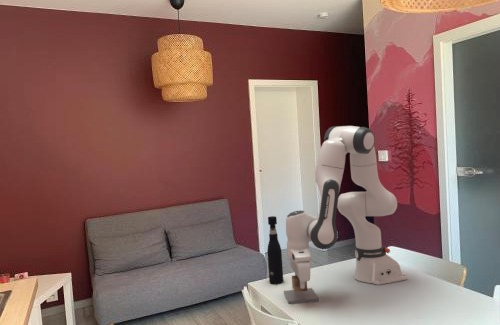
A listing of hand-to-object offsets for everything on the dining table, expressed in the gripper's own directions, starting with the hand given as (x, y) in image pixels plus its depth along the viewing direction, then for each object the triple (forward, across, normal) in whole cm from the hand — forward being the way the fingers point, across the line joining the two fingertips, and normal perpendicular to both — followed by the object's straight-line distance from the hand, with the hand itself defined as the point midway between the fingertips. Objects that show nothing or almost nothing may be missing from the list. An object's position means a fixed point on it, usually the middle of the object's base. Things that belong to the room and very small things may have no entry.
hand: (300, 285), depth 153 cm
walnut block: (+2, 0, 0) cm, 2 cm away
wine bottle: (+5, -21, -7) cm, 23 cm away
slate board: (+5, -1, 0) cm, 5 cm away
